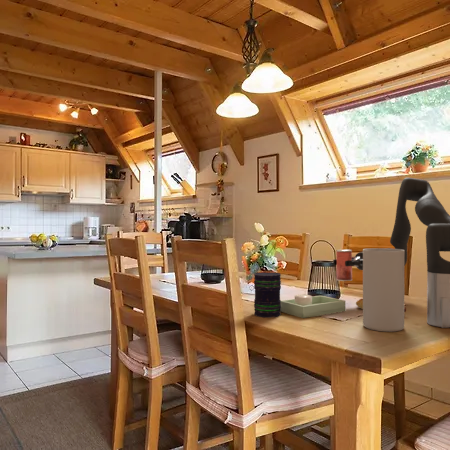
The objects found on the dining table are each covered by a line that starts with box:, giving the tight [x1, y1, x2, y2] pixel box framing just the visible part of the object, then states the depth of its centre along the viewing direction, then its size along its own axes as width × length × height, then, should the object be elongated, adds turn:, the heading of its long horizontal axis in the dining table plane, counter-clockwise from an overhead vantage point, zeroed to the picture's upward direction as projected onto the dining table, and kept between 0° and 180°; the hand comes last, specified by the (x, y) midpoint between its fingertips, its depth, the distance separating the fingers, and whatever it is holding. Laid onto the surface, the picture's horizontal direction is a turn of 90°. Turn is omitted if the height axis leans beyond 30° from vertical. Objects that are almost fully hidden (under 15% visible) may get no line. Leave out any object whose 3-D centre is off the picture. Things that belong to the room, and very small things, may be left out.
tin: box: [335, 249, 353, 282], centre depth 173 cm, size 6×6×12 cm
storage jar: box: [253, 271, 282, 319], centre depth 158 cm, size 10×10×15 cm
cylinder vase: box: [362, 247, 405, 333], centre depth 139 cm, size 12×12×25 cm
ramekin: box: [293, 294, 313, 306], centre depth 161 cm, size 6×6×4 cm
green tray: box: [280, 295, 346, 319], centre depth 163 cm, size 21×13×4 cm, turn 121°
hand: (339, 262), depth 172 cm, fingers closed on tin, 6 cm apart
